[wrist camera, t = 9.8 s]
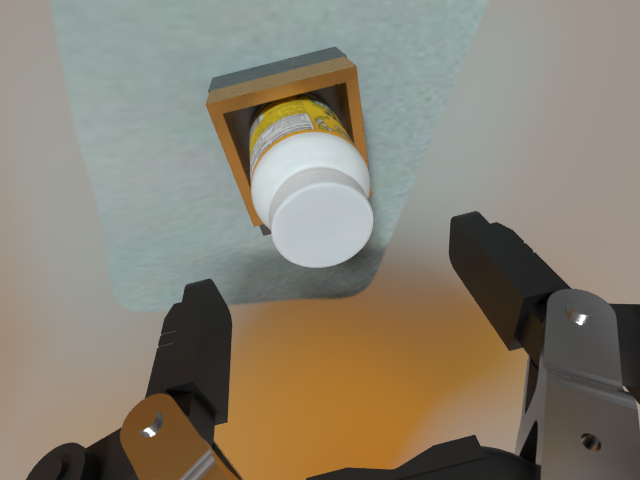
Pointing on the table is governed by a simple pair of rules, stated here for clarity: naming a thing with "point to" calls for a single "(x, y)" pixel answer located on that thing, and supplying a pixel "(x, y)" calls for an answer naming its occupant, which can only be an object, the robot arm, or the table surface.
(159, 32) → the table surface
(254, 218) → the orange open box frame
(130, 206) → the table surface
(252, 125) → the supplement bottle
